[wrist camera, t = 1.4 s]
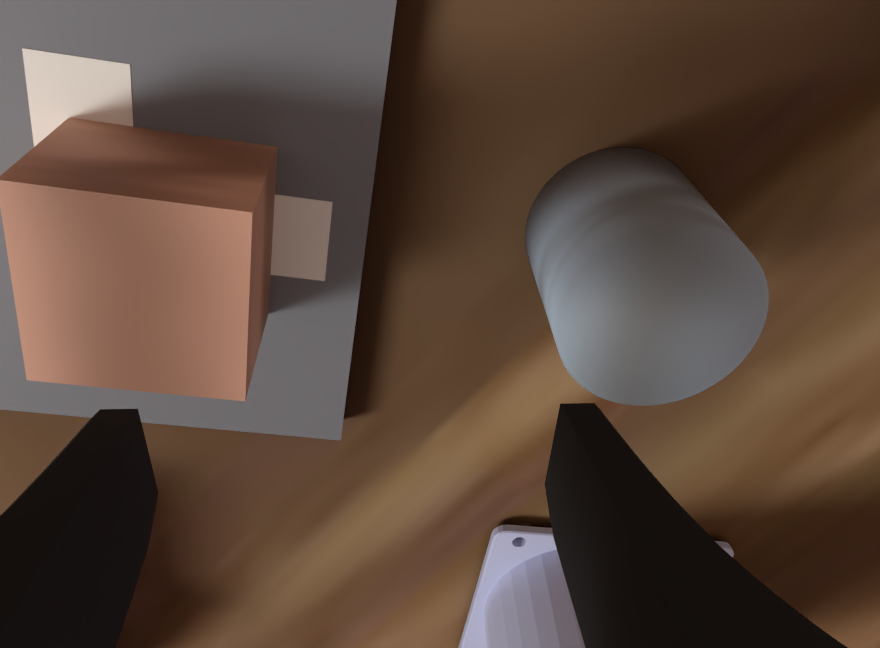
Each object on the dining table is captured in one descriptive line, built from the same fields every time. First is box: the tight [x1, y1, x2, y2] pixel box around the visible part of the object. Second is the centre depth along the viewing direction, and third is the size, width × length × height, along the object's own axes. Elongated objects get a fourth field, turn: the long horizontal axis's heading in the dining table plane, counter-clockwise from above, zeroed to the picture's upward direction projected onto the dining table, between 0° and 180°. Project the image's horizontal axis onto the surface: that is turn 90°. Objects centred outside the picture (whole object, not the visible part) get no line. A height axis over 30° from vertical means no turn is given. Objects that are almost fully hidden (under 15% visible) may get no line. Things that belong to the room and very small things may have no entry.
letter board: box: [0, 0, 397, 440], centre depth 20 cm, size 18×14×1 cm
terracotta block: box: [0, 118, 277, 401], centre depth 18 cm, size 5×5×4 cm
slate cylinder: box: [525, 147, 769, 406], centre depth 20 cm, size 5×5×5 cm
